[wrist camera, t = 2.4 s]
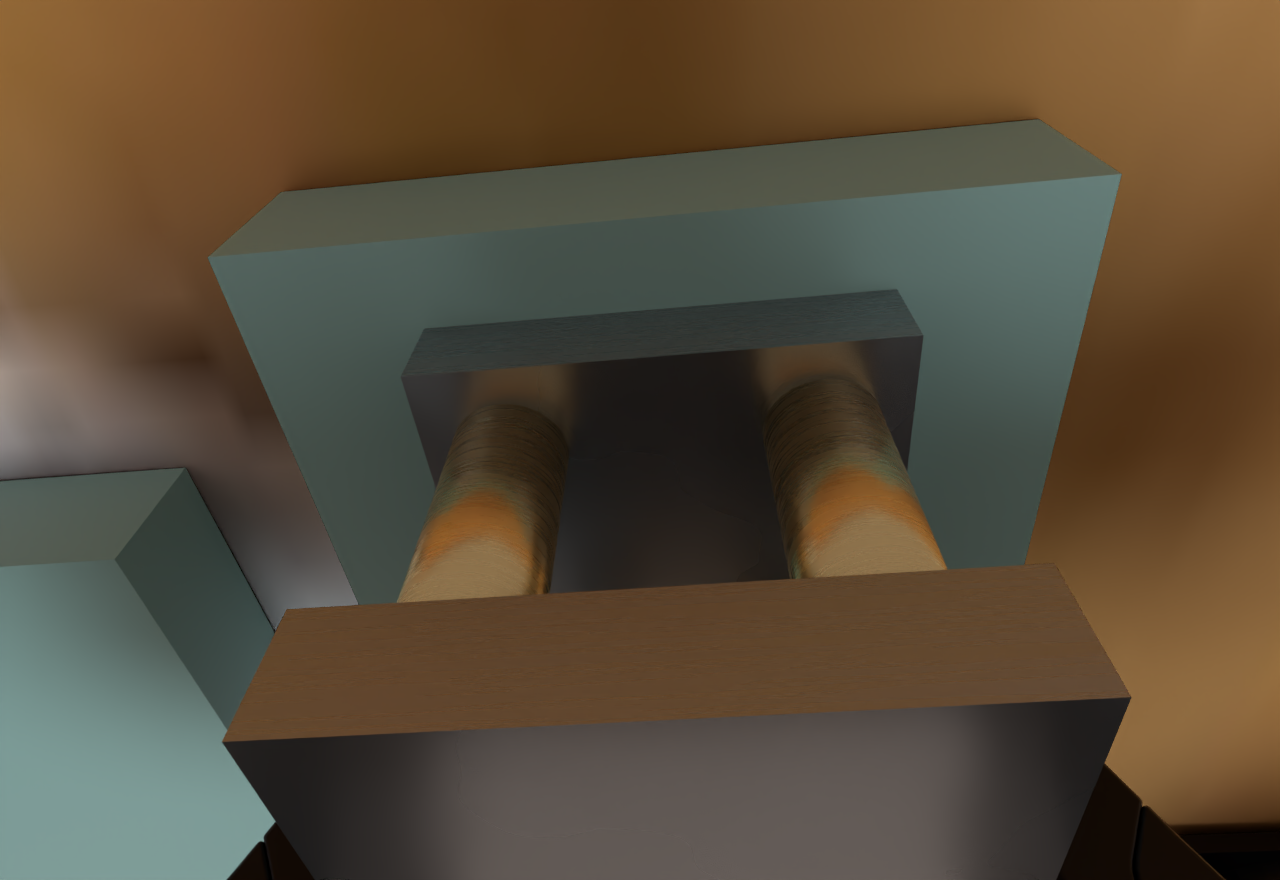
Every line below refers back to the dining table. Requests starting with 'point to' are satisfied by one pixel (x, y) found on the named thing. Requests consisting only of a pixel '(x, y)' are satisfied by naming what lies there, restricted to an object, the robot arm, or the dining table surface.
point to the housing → (681, 628)
